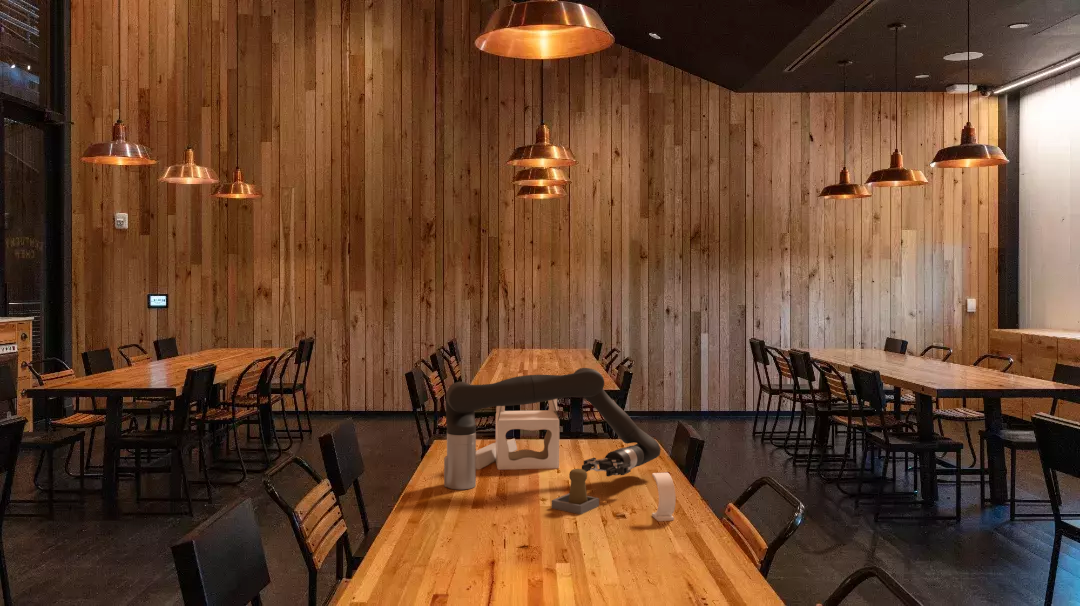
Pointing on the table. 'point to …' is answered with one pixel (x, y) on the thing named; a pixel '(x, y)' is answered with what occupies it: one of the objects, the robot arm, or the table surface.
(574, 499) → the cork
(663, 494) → the white curved bracket
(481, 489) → the table surface
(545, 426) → the gable box
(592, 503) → the square frame
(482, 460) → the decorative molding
